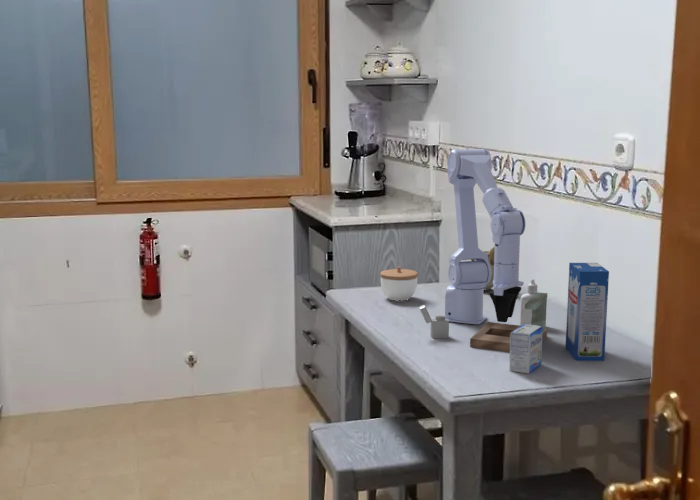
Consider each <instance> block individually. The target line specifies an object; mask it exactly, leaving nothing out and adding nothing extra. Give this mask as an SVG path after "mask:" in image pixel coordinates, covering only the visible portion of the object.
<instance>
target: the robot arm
mask: <svg viewBox="0 0 700 500" xmlns="http://www.w3.org/2000/svg"><path fill="white" fill-rule="evenodd" d="M446 166H447V167H446V168H447V170H446V171H447V178H448V183H450V184H452V185H453V189H454V190H453V192H454V204H455V217H456V218H455V219H456V229H457V230H456V231H457V239H458V240H457V241H458V249H457V250H456V251H455V252H454V253H452V255H451V256H450V257H449V258H448V259H449V260H448V271H447V273H448V280H449V283H451V284H450V285H448V286H447V287H446V290H445V296H444V298H445V299H444V300H445V301H444V316H445V317H446V318H445V319H448V320H449V323H450V322H451V323H453V322H454V323H461V324H469V325H470V324H471V325H481V324H482V323H483V322H484V321H485V320H486V319H487V318H488V316H487V315H484V311H483V310H484V289H483V287H486V284H487V283H488V282H489V281H490V279H491V267H490V265H489V261H488V255H487V254H485V253H484V252H483V250H482V249H480V248H479V240H478V227H477V218H476V217H477V215H476V205H475V203H476V202H475V192H474V188H475V186H476V185H478V188H479V189H480V190H481V192H482V193H483V197H482V203H483V205H484V207H485V209H486V211H487V213H488V215H489V217H490V219H491V221H490V230H491V233H492V242H493V244H494V247H495V253H494V280H493V285H494V286H493V290H490V292H489V297H490V298H491V301H492V303H493V306H494V311H495V316H496V321H497V323H507V322H508V319H509V318H513V314H514V310H515V306H516V301H517V299H518V297H519V294H520V293H521V291H522V286H524V284H525V283H524V281H522V280H521V281H520V280H519V275H520V273H519V271H520V251H521V250H520V249H521V248H520V246H521V245H520V244H521V243H520V242H521V236H522V235H523V234H524V232H525V230H526V219H525V214H524V212H523V211H522V210H521V209H520V210H519V209H517V208H516V207H514V206H513V205H512V203H511V201H510V199H509V196H508V194H507V193H506V192H505V190H504V189H503V188H501V187H498V186H497V185H498V184H497V182H496V181H495V178H494V174H493V173H492V155H491V153H490V151H489V150H488V149H487V148H478V149H477V148H475V149H472V148H471V149H470V148H469V149H457V148H454V149H452V150H451V151H449V153H448V156H447V159H446ZM471 259H474V260H476V261H471ZM468 260H469V261H468Z"/></svg>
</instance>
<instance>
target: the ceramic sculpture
mask: <svg viewBox="0 0 700 500" xmlns="http://www.w3.org/2000/svg"><path fill="white" fill-rule="evenodd" d="M482 251H483V250H482ZM483 252H484V253H485V254H487V255H488V261H489V265H490V267H491V279H490V281H489V282H488V283H487V284H486V287H483V290H491V289H492V288H494V285H493V280H494V253H495V246H493V247H492V248H490V251H488V250H485V251H483ZM470 261H476V260H474V259H470Z"/></svg>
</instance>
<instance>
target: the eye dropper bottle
mask: <svg viewBox="0 0 700 500" xmlns="http://www.w3.org/2000/svg"><path fill="white" fill-rule="evenodd" d="M526 291H527V293H524V294H522V295H521V296H520V304H519V325H520V326H522V325H524V324H529V325H531V321H532V309H525V304H526V303H527V302H528V301H529V300H530V299H531V298H532V297H533V296H534V295H535V294H536V293H537V292H538V284H536V281H535V279H533V278H531V280H530V282H529V283H528V284H527V290H526Z"/></svg>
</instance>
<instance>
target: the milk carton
mask: <svg viewBox="0 0 700 500" xmlns="http://www.w3.org/2000/svg"><path fill="white" fill-rule="evenodd" d="M568 267H569V268H568V285H567V286H568V287H567V308H566V309H567V310H566V326H565V327H566V332H565V334H566V335H565V349H566V350H567V352H568V351H569V352H568V353H569V354H570V355H571V357H572V356H573V357H572V358H573V360H574V361H575V360H576V361H577V362H605V351H606V337H607V335H606V333H607V318H608V317H607V315H608V313H607V312H608V298H609V281H610V278H609V277H610V271H609V270H607V269H606V268H605V267H604V266H602V265H601V264H599V263H598V262H569V266H568ZM576 361H575V362H576Z"/></svg>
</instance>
